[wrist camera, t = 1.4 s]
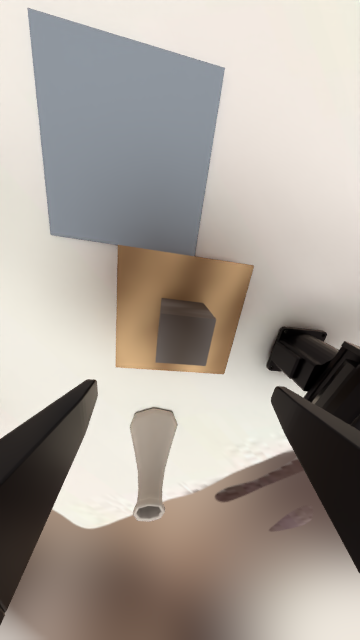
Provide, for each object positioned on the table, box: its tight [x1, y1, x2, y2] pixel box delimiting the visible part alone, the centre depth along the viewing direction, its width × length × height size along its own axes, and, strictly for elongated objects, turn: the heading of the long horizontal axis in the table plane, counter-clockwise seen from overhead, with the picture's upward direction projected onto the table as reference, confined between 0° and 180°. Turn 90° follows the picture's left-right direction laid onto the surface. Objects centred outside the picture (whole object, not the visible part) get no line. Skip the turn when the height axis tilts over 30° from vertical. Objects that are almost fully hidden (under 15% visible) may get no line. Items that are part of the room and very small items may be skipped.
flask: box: [130, 408, 177, 521], centre depth 22 cm, size 7×7×10 cm
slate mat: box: [28, 8, 225, 256], centre depth 15 cm, size 14×14×1 cm
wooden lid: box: [116, 245, 254, 374], centre depth 15 cm, size 12×12×5 cm
